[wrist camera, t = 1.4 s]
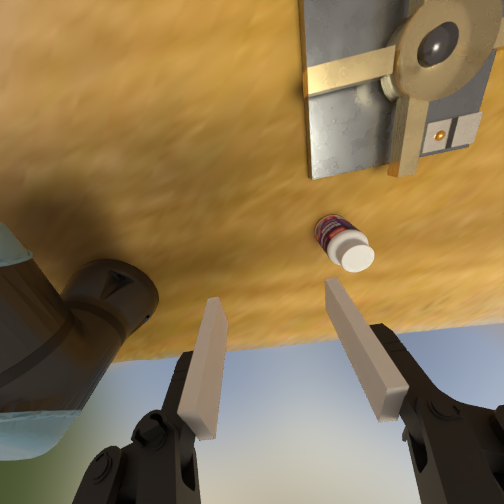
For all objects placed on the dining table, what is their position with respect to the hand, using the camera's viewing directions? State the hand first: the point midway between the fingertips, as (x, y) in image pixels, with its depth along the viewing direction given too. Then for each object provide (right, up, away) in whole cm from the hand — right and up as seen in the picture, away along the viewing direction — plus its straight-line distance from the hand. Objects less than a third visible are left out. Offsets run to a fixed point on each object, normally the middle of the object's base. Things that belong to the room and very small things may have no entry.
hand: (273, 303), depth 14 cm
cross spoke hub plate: (+15, +25, +9) cm, 30 cm away
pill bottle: (+12, +7, +19) cm, 24 cm away
